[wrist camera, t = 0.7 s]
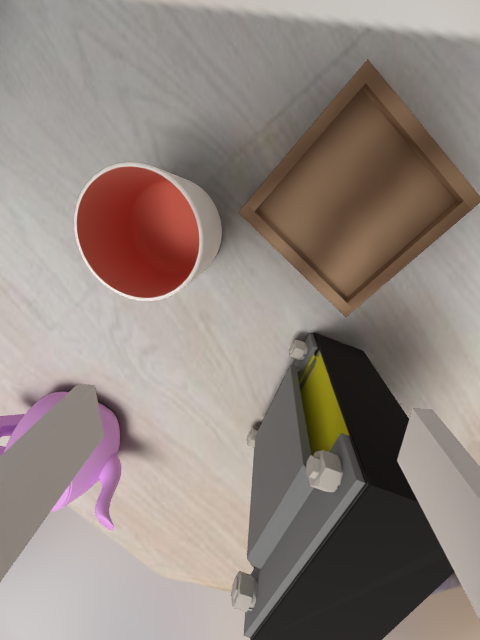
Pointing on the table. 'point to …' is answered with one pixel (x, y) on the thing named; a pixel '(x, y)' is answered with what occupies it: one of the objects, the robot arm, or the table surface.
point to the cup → (145, 230)
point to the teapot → (97, 466)
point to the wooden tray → (359, 194)
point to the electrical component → (333, 507)
